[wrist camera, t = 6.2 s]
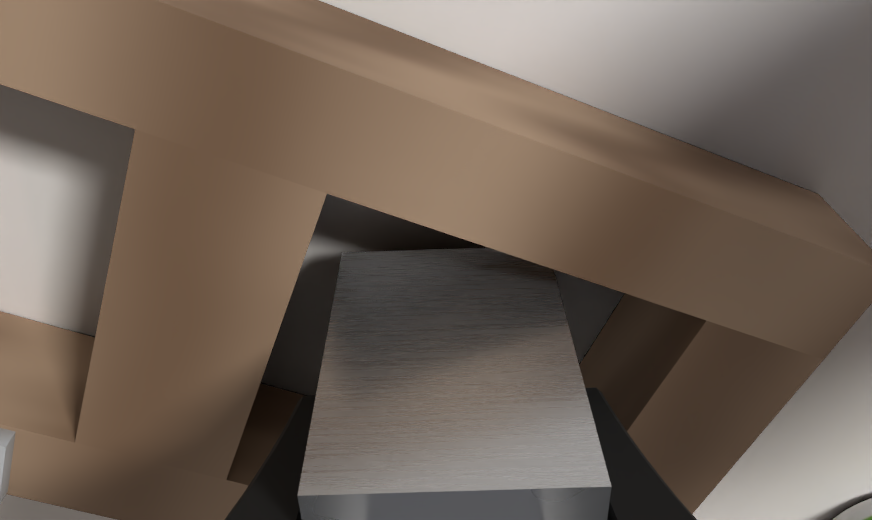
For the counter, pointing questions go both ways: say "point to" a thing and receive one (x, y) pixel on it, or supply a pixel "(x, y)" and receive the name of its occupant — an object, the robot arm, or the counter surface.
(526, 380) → the plug
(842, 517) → the supplement bottle
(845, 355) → the counter surface
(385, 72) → the socket board
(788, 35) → the counter surface
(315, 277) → the counter surface
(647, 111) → the counter surface
